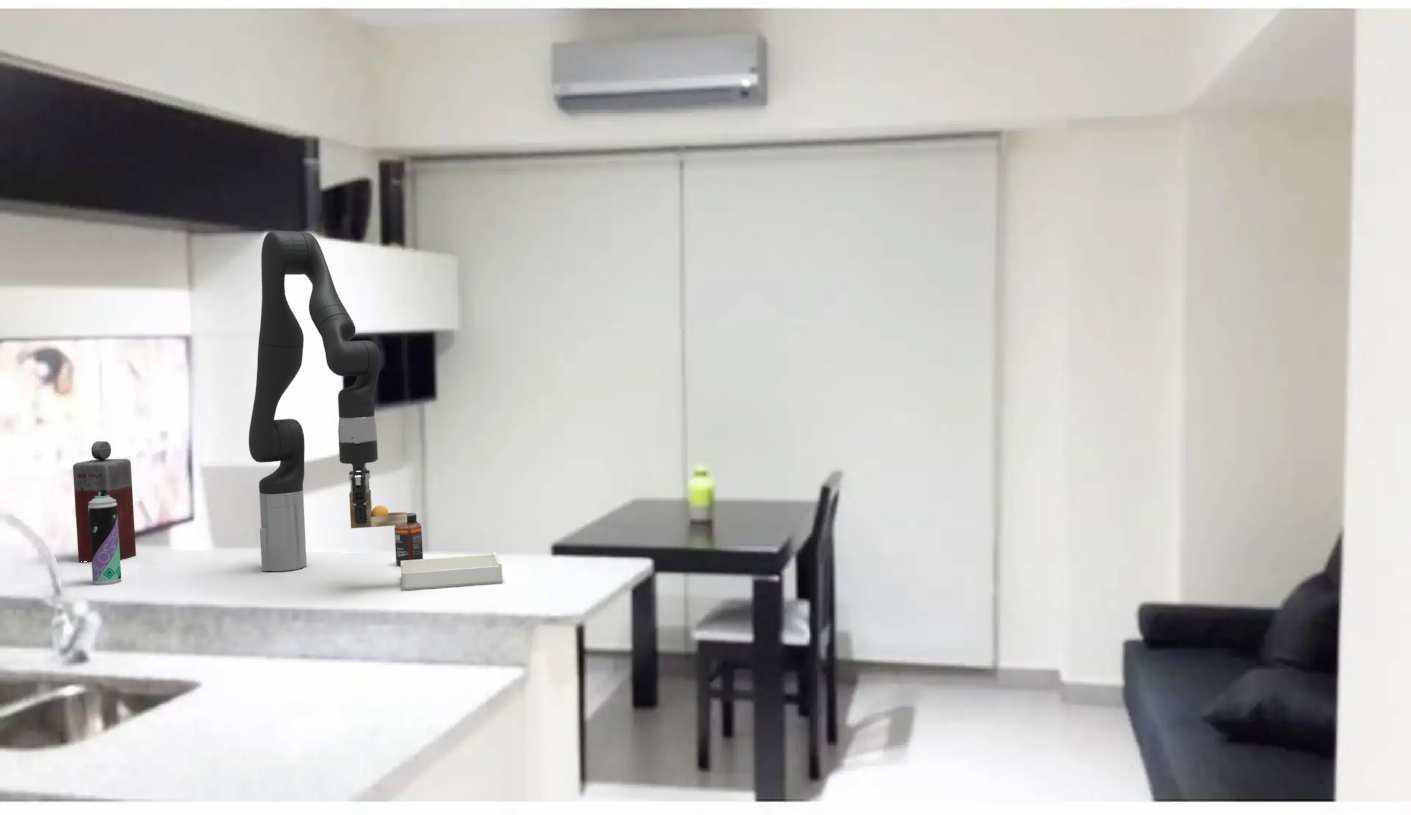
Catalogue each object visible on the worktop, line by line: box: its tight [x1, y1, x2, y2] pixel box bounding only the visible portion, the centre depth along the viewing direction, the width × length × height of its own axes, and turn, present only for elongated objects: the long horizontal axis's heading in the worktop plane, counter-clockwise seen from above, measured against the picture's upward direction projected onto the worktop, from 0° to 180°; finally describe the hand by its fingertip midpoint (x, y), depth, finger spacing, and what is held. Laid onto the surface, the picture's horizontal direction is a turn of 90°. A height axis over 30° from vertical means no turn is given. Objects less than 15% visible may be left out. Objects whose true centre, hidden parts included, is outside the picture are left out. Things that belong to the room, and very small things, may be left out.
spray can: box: [88, 490, 122, 586], centre depth 256 cm, size 6×6×20 cm
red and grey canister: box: [72, 440, 137, 563], centre depth 283 cm, size 9×11×28 cm
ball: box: [371, 505, 389, 517], centre depth 245 cm, size 3×3×3 cm
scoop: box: [348, 489, 408, 529], centre depth 246 cm, size 11×5×7 cm, turn 104°
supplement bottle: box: [393, 512, 424, 567], centre depth 269 cm, size 6×6×11 cm
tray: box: [400, 551, 503, 592], centre depth 251 cm, size 20×14×4 cm
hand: (361, 521), depth 245 cm, fingers closed on scoop, 5 cm apart
